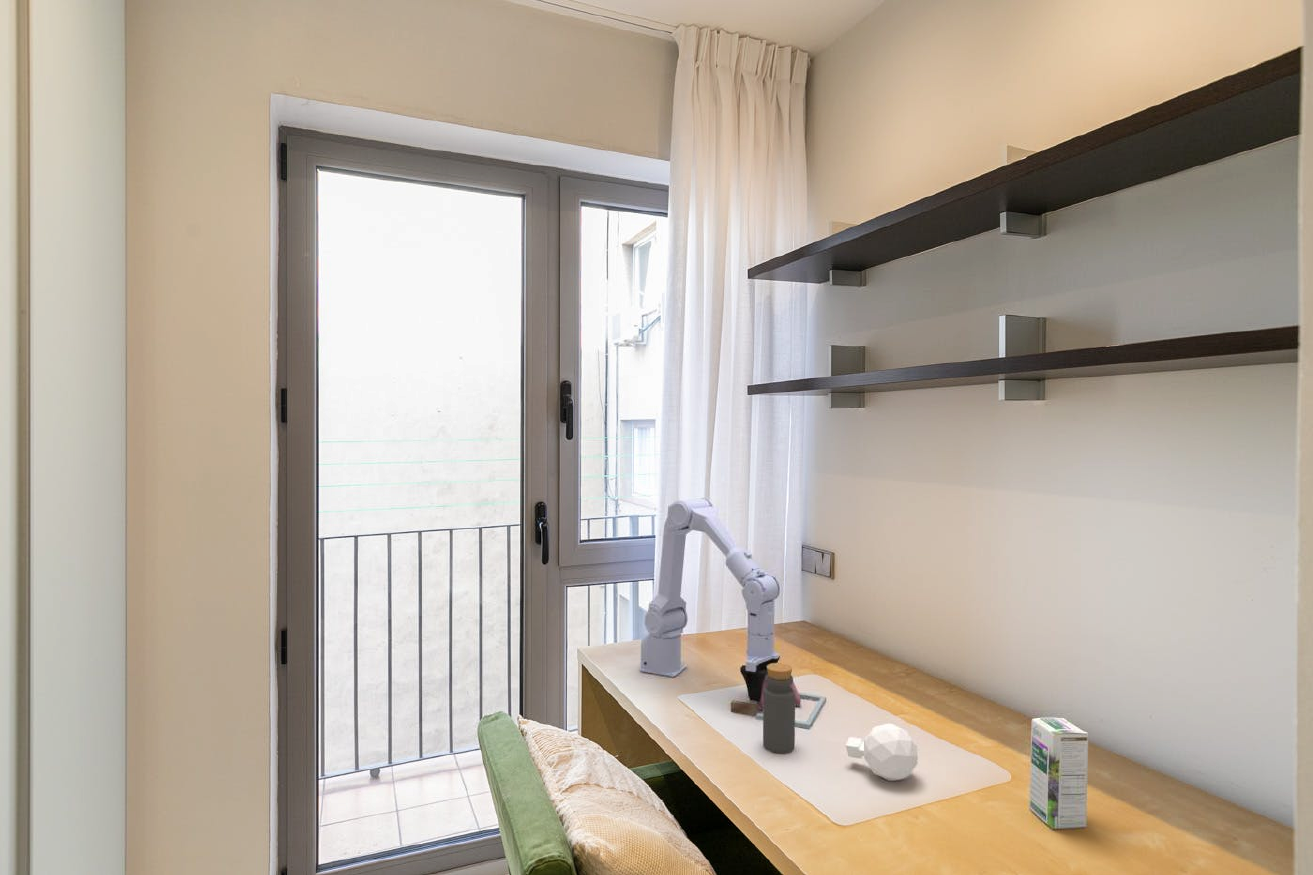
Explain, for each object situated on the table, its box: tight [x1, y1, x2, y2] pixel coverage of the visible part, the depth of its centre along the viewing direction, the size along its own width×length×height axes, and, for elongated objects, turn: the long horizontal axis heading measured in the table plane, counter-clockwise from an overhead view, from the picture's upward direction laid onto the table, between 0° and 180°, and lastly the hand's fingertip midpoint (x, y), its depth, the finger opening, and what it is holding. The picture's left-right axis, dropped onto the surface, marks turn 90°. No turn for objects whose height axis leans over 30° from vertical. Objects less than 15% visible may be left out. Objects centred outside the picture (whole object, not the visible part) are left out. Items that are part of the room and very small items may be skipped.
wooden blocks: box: [730, 699, 757, 716], centre depth 151 cm, size 5×13×2 cm, turn 155°
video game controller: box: [755, 676, 802, 711], centre depth 150 cm, size 10×5×7 cm, turn 105°
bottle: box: [762, 662, 796, 754], centre depth 130 cm, size 6×6×15 cm
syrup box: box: [1029, 716, 1089, 830], centre depth 106 cm, size 6×6×14 cm
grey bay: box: [755, 691, 827, 730], centre depth 147 cm, size 11×16×1 cm
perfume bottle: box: [845, 722, 919, 782], centre depth 120 cm, size 9×9×12 cm
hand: (760, 694), depth 150 cm, fingers open, 7 cm apart
